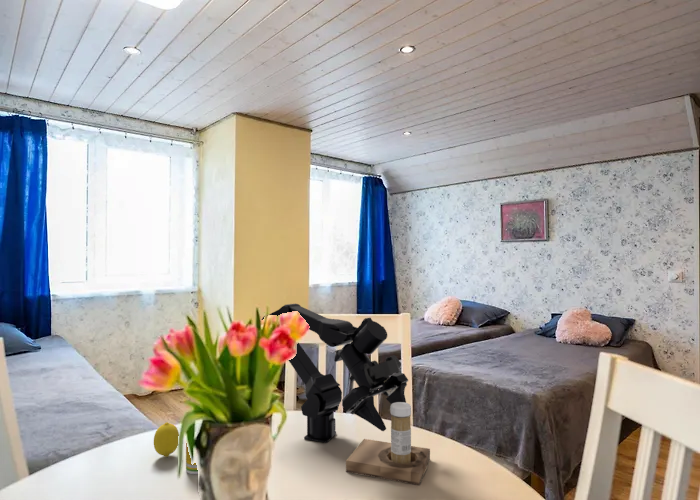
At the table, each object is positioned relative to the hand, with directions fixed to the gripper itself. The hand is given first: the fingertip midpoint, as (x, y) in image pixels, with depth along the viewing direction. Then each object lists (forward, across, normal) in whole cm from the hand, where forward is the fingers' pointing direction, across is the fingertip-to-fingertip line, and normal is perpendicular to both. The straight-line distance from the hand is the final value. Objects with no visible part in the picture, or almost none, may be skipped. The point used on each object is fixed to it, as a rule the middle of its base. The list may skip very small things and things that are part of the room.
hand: (397, 424), depth 97 cm
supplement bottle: (-16, -30, +30) cm, 45 cm away
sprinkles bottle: (+7, 0, +5) cm, 9 cm away
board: (+6, -1, +8) cm, 9 cm away
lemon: (-23, -32, +38) cm, 55 cm away
